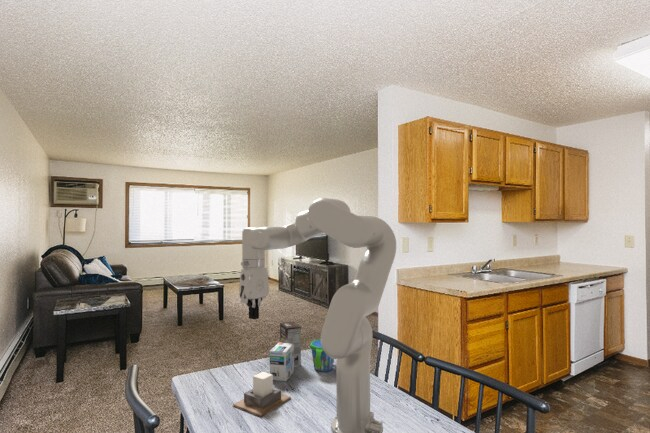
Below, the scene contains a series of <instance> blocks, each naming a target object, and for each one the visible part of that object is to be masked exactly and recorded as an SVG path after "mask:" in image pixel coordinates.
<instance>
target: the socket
mask: <svg viewBox="0 0 650 433" xmlns="http://www.w3.org/2000/svg"><path fill="white" fill-rule="evenodd" d="M291 397H292V396H290V395H287V394H284V393H282V389H279V388H276V387H273V392H272V393H271V394H269V395H267V396H265V397H264V398H262V397H259V396H257V395H254V394H253V388H251V389H250V390H248V391H246V392H244V393H243V399H241V400H239V401H237V402H235V403H234V404H233V407H234V408H237V409H240V410H242V411H244V412H247V413H248V414H249V413H250V414H253V415H255V416H257V417H260V418H262V417H263V416H265V415H267V414H269V413H270V412H272V411H273V410H275V409H276V408H279V407H280V406H281V405H283V404H285V403H286V402H288V401H289V400H291V399H292V398H291Z"/></svg>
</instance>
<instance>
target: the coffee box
mask: <svg viewBox="0 0 650 433" xmlns="http://www.w3.org/2000/svg"><path fill="white" fill-rule="evenodd" d="M279 339H280V341H279V343H291V344H294V368H296V367H300V366H302V326H300V325H299V324H298V323H296V322H295V321H284V322H283V321H282V322H280V323H279Z"/></svg>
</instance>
